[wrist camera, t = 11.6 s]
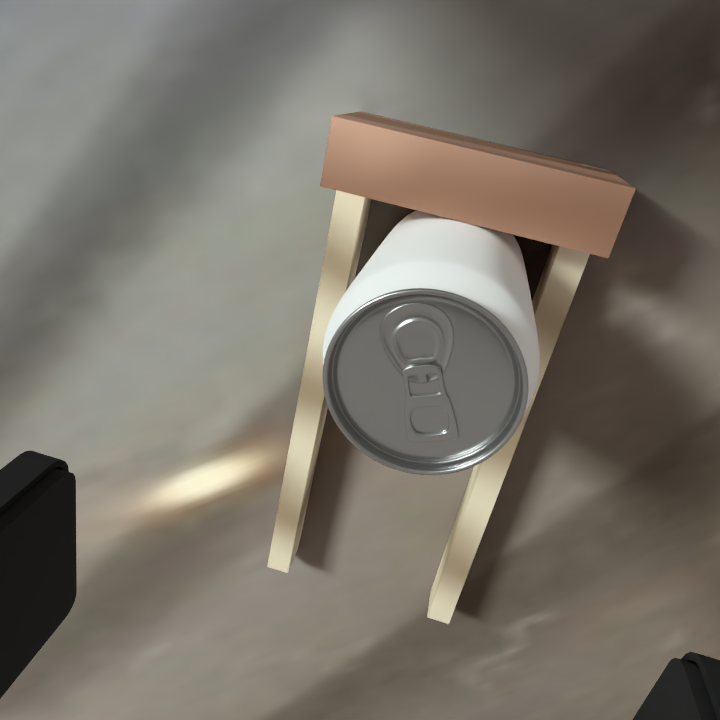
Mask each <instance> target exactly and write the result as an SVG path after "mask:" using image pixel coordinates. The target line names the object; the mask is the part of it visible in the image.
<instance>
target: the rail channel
mask: <svg viewBox="0 0 720 720" xmlns="http://www.w3.org/2000/svg"><path fill="white" fill-rule="evenodd" d="M320 186H322V187H326V188H330V189H334V190H337V191H336V197H335V202H334V207H333V213H332V218H331V224H330V229H329V235H328V240H327V245H326V251H325V256H324V262H323V267H322V273H321V278H320V284H319V289H318V294H317V300H316V305H315V311H314V316H313V322H312V327H311V332H310V338H309V343H308V349H307V354H306V360H305V365H304V370H303V376H302V381H301V387H300V392H299V398H298V403H297V408H296V414H295V419H294V425H293V430H292V436H291V441H290V447H289V452H288V457H287V463H286V468H285V474H284V479H283V485H282V490H281V495H280V501H279V506H278V512H277V517H276V523H275V528H274V533H273V539H272V544H271V550H270V555H269V561H268V566H267V567H270V568H273V569H276V570H280V571H283V572H286V573H288V571H289V569H290V567H291V564H292V562H293V560H294V558H295V555H296V553H297V551H298V548H299V543H300V538H301V533H302V529H303V524H304V519H305V514H306V510H307V505H308V500H309V495H310V491H311V486H312V481H313V476H314V472H315V467H316V462H317V457H318V453H319V448H320V443H321V438H322V434H323V429H324V424H325V419H326V415H327V410H328V406H327V403H326V399H325V395H324V390H323V344H324V338H325V333H326V330H327V326H328V324H329V321H330V318H331V316H332V314H333V312H334V310H335V308H336V306H337V304H338V303H339V301H340V300H341V298H342V296H343V295H344V293H345V292H346V291H347V289H348V288H349V286H350V285H351V284H352V282H353V281H354V280H355V277H356V272H357V267H358V262H359V258H360V253H361V248H362V243H363V239H364V234H365V229H366V224H367V220H368V215H369V210H370V205H371V201H372V199H373V200H377V201H381V202H385V203H389V204H393V205H397V206H401V207H405V208H409V209H413V210H417V211H421V212H425V213H429V214H433V215H437V216H441V217H445V218H449V219H453V220H457V221H461V222H465V223H469V224H473V225H477V226H481V227H485V228H489V229H493V230H497V231H501V232H505V233H509V234H513V235H517V236H521V237H525V238H529V239H533V240H537V241H541V242H545V243H549V244H552V246H551V249H550V252H549V255H548V258H547V260H546V263H545V266H544V269H543V272H542V275H541V278H540V280H539V283H538V286H537V289H536V292H535V295H534V297H533V300H532V306H533V311H534V317H535V323H536V328H537V335H538V342H539V351H540V368H539V376H538V382H537V386H536V390H535V393H534V395H533V398H532V400H531V402H530V404H529V406H528V408H527V410H526V411H525V413H524V415H523V417H522V420H521V422H520V424H519V426H518V428H517V430H516V431H515V433H514V434H513V436H512V437H511V438H510V440H509V441H508V442H507V443H506V444H505V445H504V446H503V447H502V448H501V449H500V450H499V451H498V452H497V453H495V454H494V455H493V456H491V457H490V458H488V459H487V460H485V461H483V462H482V463H480V464H478V465H476V466H474V469H473V471H472V474H471V477H470V480H469V483H468V486H467V488H466V491H465V494H464V497H463V500H462V503H461V506H460V508H459V511H458V514H457V517H456V520H455V523H454V526H453V528H452V531H451V534H450V537H449V540H448V543H447V545H446V548H445V551H444V554H443V557H442V560H441V563H440V565H439V568H438V571H437V574H436V577H435V580H434V583H433V585H432V588H431V593H430V600H429V608H428V616H427V617H428V618H431V619H434V620H437V621H441V622H444V623H447V624H449V622H450V620H451V617H452V614H453V612H454V609H455V606H456V604H457V601H458V599H459V596H460V593H461V591H462V588H463V585H464V583H465V580H466V578H467V575H468V572H469V570H470V567H471V564H472V562H473V559H474V557H475V554H476V551H477V549H478V546H479V543H480V541H481V538H482V536H483V533H484V530H485V528H486V525H487V523H488V520H489V517H490V515H491V512H492V509H493V507H494V504H495V502H496V499H497V496H498V494H499V491H500V488H501V486H502V483H503V481H504V478H505V475H506V473H507V470H508V467H509V465H510V462H511V460H512V457H513V454H514V452H515V449H516V447H517V444H518V441H519V439H520V436H521V433H522V431H523V428H524V426H525V423H526V420H527V418H528V415H529V412H530V410H531V407H532V405H533V402H534V399H535V397H536V394H537V391H538V389H539V386H540V384H541V381H542V378H543V376H544V373H545V370H546V368H547V365H548V363H549V360H550V357H551V355H552V352H553V350H554V347H555V344H556V342H557V339H558V336H559V334H560V331H561V329H562V326H563V323H564V321H565V318H566V315H567V313H568V310H569V308H570V305H571V302H572V300H573V297H574V294H575V292H576V289H577V287H578V284H579V281H580V279H581V276H582V274H583V271H584V268H585V266H586V263H587V260H588V258H589V255H590V254H593V255H597V256H601V257H605V258H609V255H610V253H611V250H612V248H613V245H614V243H615V240H616V238H617V235H618V233H619V230H620V228H621V225H622V223H623V220H624V218H625V215H626V213H627V210H628V208H629V205H630V202H631V200H632V197H633V195H634V192H635V190H636V188H635V187H633V186H632V185H630V184H629V183H627V182H626V181H625V180H623V179H622V178H620V177H619V176H617V175H616V174H614V173H613V172H612V171H610V170H606V169H601V168H597V167H593V166H589V165H585V164H580V163H576V162H572V161H568V160H563V159H559V158H555V157H551V156H547V155H542V154H538V153H534V152H530V151H525V150H521V149H517V148H513V147H508V146H504V145H500V144H496V143H492V142H487V141H483V140H479V139H475V138H470V137H466V136H462V135H458V134H454V133H449V132H445V131H441V130H437V129H432V128H428V127H424V126H420V125H416V124H411V123H407V122H403V121H399V120H394V119H390V118H386V117H382V116H377V115H373V114H369V113H365V112H355V113H349V114H342V115H336V116H332V120H331V126H330V132H329V138H328V143H327V149H326V155H325V161H324V167H323V172H322V178H321V184H320Z"/></svg>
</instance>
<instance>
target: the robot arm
mask: <svg viewBox="0 0 720 720" xmlns="http://www.w3.org/2000/svg"><path fill="white" fill-rule="evenodd" d="M75 597H76V480H75V476H74V474H73V473H70V472H69V470H68V465H67V463H66V462H65V461H63V460H60V459H57V458H53V457H50V456H47V455H43V454H40V453H37V452H34V451H26V452H24V453H22V454H20V455H19V456H18V457H16V458H15V459H14V460H12V461H11V462H10V463H9V464H7V465H6V466H5V467H3V468H2V469H1V470H0V698H1V697H2V696H3V694H4V693H5V692H6V691H7V690H8V688H9V687H10V686H11V685H12V683H13V682H14V681H15V680H16V678H17V677H18V676H19V675H20V673H21V672H22V671H23V670H24V668H25V667H26V666H27V665H28V663H29V662H30V661H31V660H32V659H33V657H34V656H35V655H36V654H37V652H38V651H39V650H40V649H41V647H42V646H43V645H44V644H45V642H46V641H47V640H48V639H49V637H50V636H51V635H52V634H53V632H54V631H55V630H56V629H57V628H58V626H59V625H60V624H61V623H62V621H63V620H64V619H65V618H66V616H67V615H68V613H69V612H70V610H71V608H72V606H73V604H74V601H75ZM633 720H720V660H717V659H714V658H710V657H707V656H704V655H700V654H697V653H693V652H689V653H687V654H685V655H684V657H683V658H682V659H677V658H674V659H672V660H671V661H670V662H669V663H668V665H667V666H666V668H665V670H664V671H663V673H662V674H661V676H660V677H659V679H658V680H657V682H656V684H655V685H654V687H653V688H652V690H651V691H650V693H649V695H648V696H647V698H646V699H645V701H644V702H643V704H642V706H641V707H640V709H639V710H638V712H637V713H636V715H635V717H634V718H633Z"/></svg>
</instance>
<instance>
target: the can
mask: <svg viewBox="0 0 720 720" xmlns="http://www.w3.org/2000/svg"><path fill="white" fill-rule="evenodd" d="M539 368H540V351H539V342H538V335H537V328H536V323H535V317H534V311H533V306H532V300H531V295H530V289H529V284H528V279H527V274H526V269H525V264H524V260H523V256H522V252H521V249H520V247H519V244H518V242H517V240H516V238H515V237H514V235H513V234H509V233H505V232H501V231H497V230H493V229H489V228H485V227H481V226H477V225H473V224H469V223H465V222H461V221H457V220H453V219H449V218H445V217H441V216H437V215H433V214H429V213H425V212H421V211H417V210H416V211H414V212H412V213H411V214H409V215H407V216H406V217H405V218H403V219H402V220H401V221H400V222H399V223H398V224H397V225H396V226H395V227H394V228H393V229H392V231H391V232H390V233H389V234H388V235H387V237H386V238H385V239H384V241H383V242H382V243H381V245H380V246H379V247H378V249H377V250H376V251H375V253H374V254H373V255H372V257H371V258H370V259H369V261H368V262H367V263H366V265H365V266H364V267H363V269H362V270H361V271H360V273H359V274H358V275H357V277H356V278H355V280H354V281H353V282H352V284H351V285H350V286H349V288H348V289H347V291H346V292H345V293H344V295H343V296H342V298H341V300H340V301H339V303H338V304H337V306H336V308H335V310H334V312H333V314H332V316H331V318H330V321H329V324H328V326H327V330H326V333H325V338H324V344H323V390H324V395H325V399H326V403H327V406H328V409H329V411H330V413H331V415H332V417H333V419H334V421H335V423H336V424H337V426H338V428H339V429H340V430H341V432H342V433H343V434H344V435H345V437H346V438H347V439H348V440H349V441H350V442H351V443H352V444H353V445H354V446H355V447H356V448H357V449H359V450H360V451H361V452H362V453H364V454H365V455H367V456H368V457H370V458H371V459H373V460H375V461H377V462H379V463H381V464H383V465H385V466H387V467H390V468H393V469H396V470H399V471H403V472H407V473H412V474H420V475H442V474H449V473H455V472H459V471H462V470H465V469H468V468H471V467H473V466H476V465H478V464H480V463H482V462H483V461H485V460H487V459H488V458H490V457H491V456H493V455H494V454H495V453H497V452H498V451H499V450H500V449H501V448H502V447H503V446H504V445H505V444H506V443H507V442H508V441H509V440H510V438H511V437H512V436H513V434H514V433H515V431H516V430H517V428H518V426H519V424H520V422H521V420H522V417H523V415H524V413H525V411H526V410H527V408H528V406H529V404H530V402H531V400H532V398H533V395H534V393H535V390H536V386H537V382H538V376H539Z"/></svg>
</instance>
